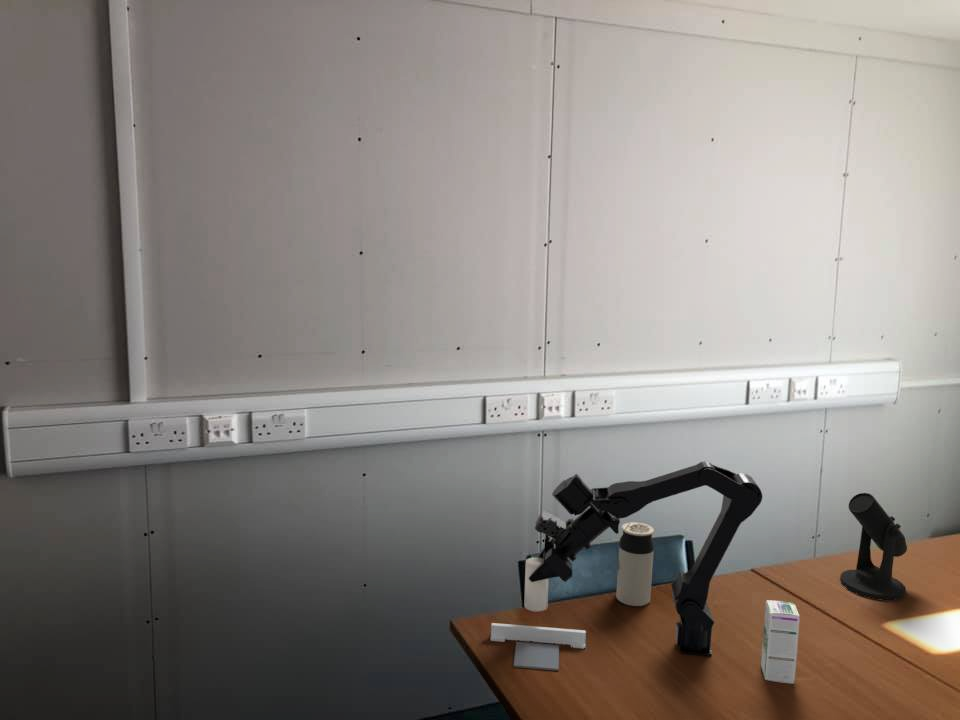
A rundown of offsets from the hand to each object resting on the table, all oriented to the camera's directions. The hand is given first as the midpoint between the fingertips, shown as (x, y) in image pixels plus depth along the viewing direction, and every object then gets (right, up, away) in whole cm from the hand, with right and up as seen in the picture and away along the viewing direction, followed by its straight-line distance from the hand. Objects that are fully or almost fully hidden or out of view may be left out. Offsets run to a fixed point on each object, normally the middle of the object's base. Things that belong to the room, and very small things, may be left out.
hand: (530, 574), depth 165 cm
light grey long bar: (+1, -14, -1) cm, 14 cm away
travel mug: (+26, -11, +19) cm, 34 cm away
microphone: (+88, -12, +29) cm, 94 cm away
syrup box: (+49, -17, -11) cm, 53 cm away
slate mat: (+1, -15, -7) cm, 17 cm away
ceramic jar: (+1, -7, +1) cm, 7 cm away
